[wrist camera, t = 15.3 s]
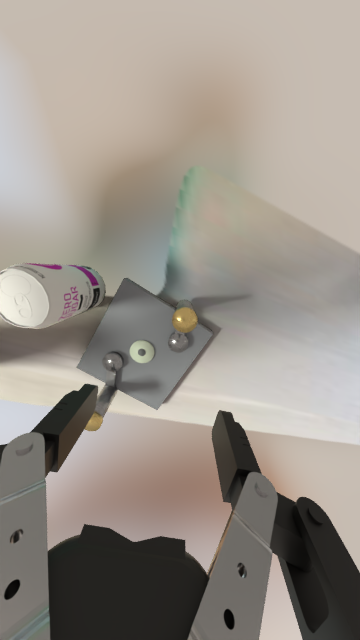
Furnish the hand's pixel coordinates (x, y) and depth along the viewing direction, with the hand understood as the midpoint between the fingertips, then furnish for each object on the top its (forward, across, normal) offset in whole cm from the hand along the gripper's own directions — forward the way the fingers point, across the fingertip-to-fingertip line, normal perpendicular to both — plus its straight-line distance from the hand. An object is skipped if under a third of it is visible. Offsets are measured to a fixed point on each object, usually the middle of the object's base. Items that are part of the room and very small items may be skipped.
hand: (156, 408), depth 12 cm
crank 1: (+24, +10, +15) cm, 30 cm away
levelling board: (+26, +5, +8) cm, 28 cm away
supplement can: (+26, +18, -2) cm, 32 cm away
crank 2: (+24, -2, +1) cm, 24 cm away
